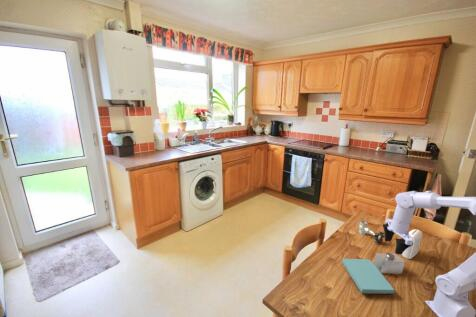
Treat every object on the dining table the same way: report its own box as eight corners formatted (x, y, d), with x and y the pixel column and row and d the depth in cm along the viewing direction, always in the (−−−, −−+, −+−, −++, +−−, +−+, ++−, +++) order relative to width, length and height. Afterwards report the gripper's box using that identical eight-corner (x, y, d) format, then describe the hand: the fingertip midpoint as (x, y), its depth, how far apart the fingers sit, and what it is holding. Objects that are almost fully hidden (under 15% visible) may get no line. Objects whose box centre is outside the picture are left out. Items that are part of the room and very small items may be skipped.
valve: (354, 232, 121) (374, 245, 110) (356, 221, 119) (376, 233, 109) (362, 229, 124) (383, 242, 113) (364, 219, 122) (385, 230, 111)
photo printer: (408, 247, 109) (414, 225, 105) (419, 252, 105) (425, 230, 102) (399, 255, 103) (405, 232, 100) (410, 260, 100) (416, 237, 96)
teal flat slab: (393, 296, 81) (394, 289, 80) (360, 295, 81) (361, 289, 80) (368, 265, 97) (369, 259, 96) (341, 264, 97) (342, 258, 96)
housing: (401, 273, 92) (405, 259, 90) (380, 273, 92) (383, 259, 90) (393, 265, 97) (396, 251, 95) (373, 264, 97) (376, 251, 95)
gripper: (381, 209, 95) (374, 235, 99) (402, 230, 81) (393, 259, 85) (398, 210, 94) (390, 236, 99) (422, 231, 80) (411, 260, 85)
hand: (392, 247), depth 92 cm, fingers open, 7 cm apart
